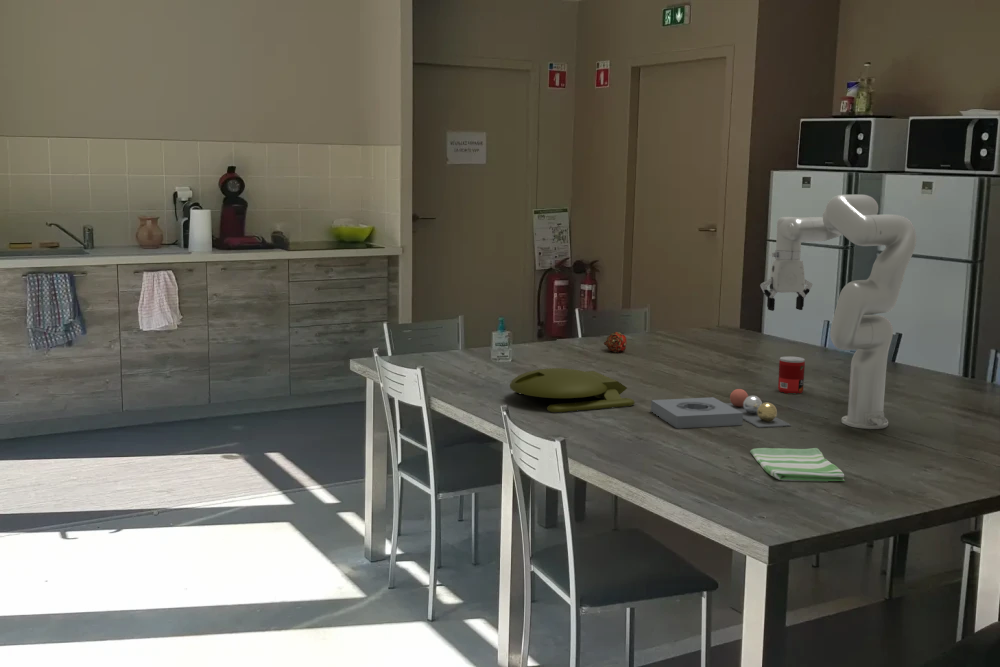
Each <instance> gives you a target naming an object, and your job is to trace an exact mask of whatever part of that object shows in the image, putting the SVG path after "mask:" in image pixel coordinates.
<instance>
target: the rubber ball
mask: <svg viewBox="0 0 1000 667" xmlns="http://www.w3.org/2000/svg"><path fill="white" fill-rule="evenodd" d="M748 396H749V394H748V393H747V391H746V390H744V389H742V388H736V389H734V390H732V392H731V393H730V395H729V401H730V403H732V404H733V405H734V406H736V407H742V406H743V402H744V400H745V399H746V398H747V397H748Z"/></svg>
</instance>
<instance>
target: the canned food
mask: <svg viewBox="0 0 1000 667" xmlns="http://www.w3.org/2000/svg"><path fill="white" fill-rule="evenodd" d="M805 367H806V359H805V358H803V357H798V356H780V357H779V362H778V383H777V384H778V385H777V390H778V392H780V393H782V392H784V393H783V394H788V393H796V394H795V395H798V394H797V393H799V394H802V393H803V392H804V384H805V383H804V382H805Z"/></svg>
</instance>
